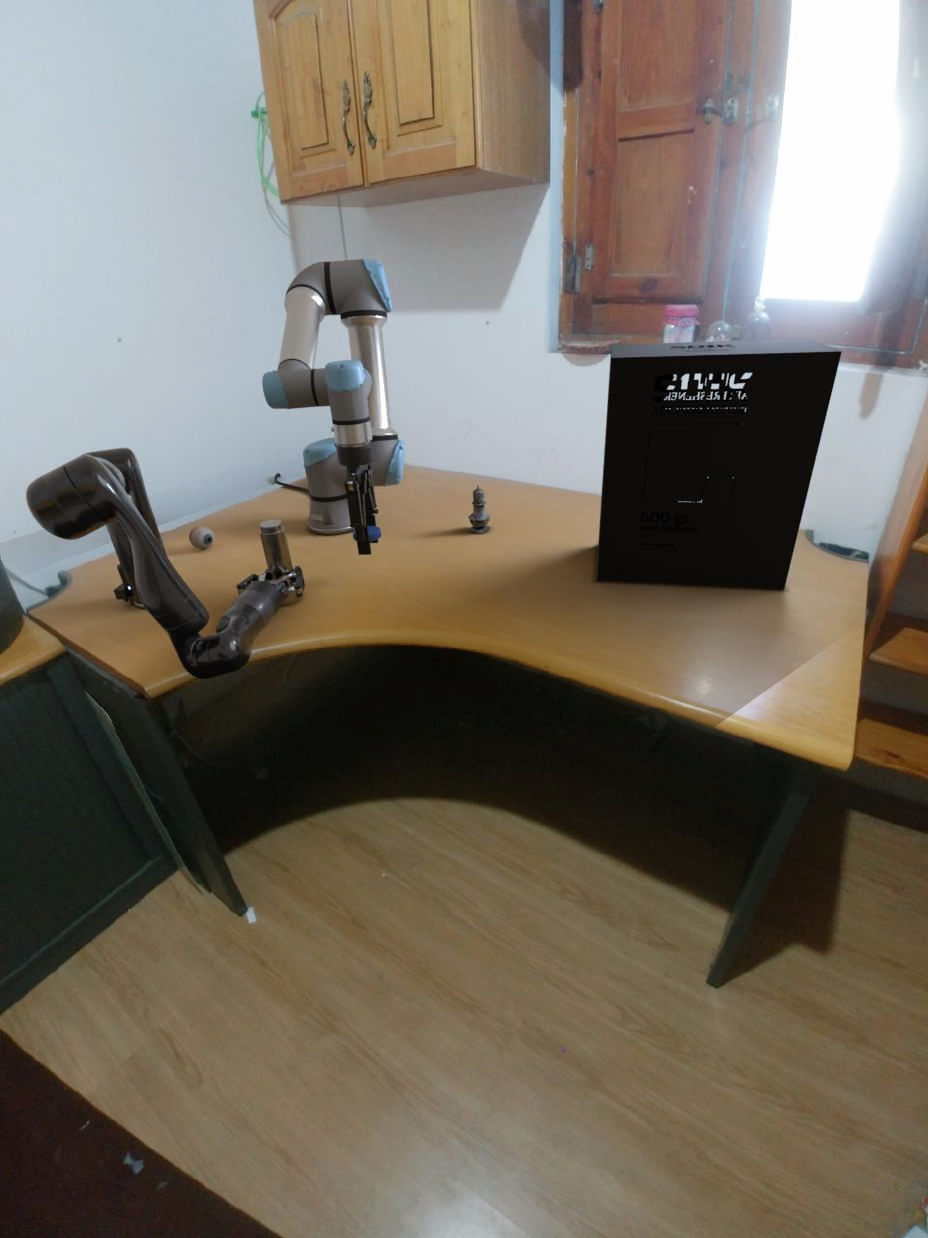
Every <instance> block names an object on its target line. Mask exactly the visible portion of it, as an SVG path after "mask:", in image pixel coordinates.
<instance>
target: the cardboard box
mask: <svg viewBox="0 0 928 1238" xmlns="http://www.w3.org/2000/svg"><path fill="white" fill-rule="evenodd" d="M841 356H842V350H840V349H838V348H834V347H833V346H829V345H827V344H823V343H821V342H819V341H816V340H813V339H811V338H808V337H807V338H806V337H805V338H780V339H779V338H777V339H776V338H775V339H774V338H773V339H749V340H748V339H746V340H745V339H744V340H718V341H688V342H687V341H685V342H683V341H682V342H681V341H680V342H652V343H624V344H623V343H621V344H611V345H610V358H609V372H608V373H609V374H608V386H607V388H608V392H607V405H606V419H605V420H606V422H605V434H604V451H603V452H604V453H603V466H602V481H601V496H600V512H599V513H600V514H599V528H598V541H597V542H598V543H597V566H596V567H597V568H596V582H609V583H630V584H648V585H649V584H653V585H672V586H673V585H674V586H675V585H676V586H693V587H695V586H697V587H699V586H700V587H716V588H717V587H718V588H719V587H720V588H739V589H740V588H742V589H762V590H764V589H765V590H781V591H782V590H785V588H786V584H787V580H788V576H789V572H790V567H791V563H792V559H793V555H794V551H795V546H796V542H797V538H798V535H799V531H800V528H801V527H800V526H801V522H802V518H803V514H804V509H805V506H806V501H807V497H808V493H809V489H810V485H811V480H812V476H813V472H814V468H815V465H816V460H817V456H818V451H819V447H820V443H821V440H822V435H823V432H824V427H825V423H826V419H827V415H828V410H829V405H830V403H831V398H832V394H833V390H834V386H835V381H836V378H837V374H838V369H839V365H840V360H841ZM745 374H751V375H750V376H749V377H748V378H743V377H744V376H745ZM675 375H676V378H675ZM685 375H688V380H687V386H686V388H682V385H683V377H684V376H685ZM696 375H700V380H699V379H695V377H696ZM710 375H712V377H711V379H710ZM723 375H724V376H723ZM733 376H734V378H733V385H738V384H743V386H742V387H741V388H739V387H738V388H733V387H731V385H730V383H731V379H732V377H733ZM699 385H702V388H699ZM713 385H718V388H712V387H713ZM670 386H671V387H673V388H671V389H668V388H669V387H670Z"/></svg>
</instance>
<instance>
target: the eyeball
mask: <svg viewBox="0 0 928 1238" xmlns="http://www.w3.org/2000/svg"><path fill="white" fill-rule="evenodd" d="M188 539H189V542H190V544H191V545H192V546H193V547H194V548H196V549H198V550H206V549H208V548H210V547H212V545H213V544H214V541H215V535H214V533H213V531H212V529H210V528H209V527H207V526H205V525H198V526H195V527H194V528H192V529H191V530H190V532H189V535H188Z"/></svg>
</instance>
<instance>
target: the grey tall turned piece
mask: <svg viewBox="0 0 928 1238" xmlns="http://www.w3.org/2000/svg"><path fill="white" fill-rule="evenodd" d="M486 503H487V502H486V501H485V491H484V490H483V489H482V488H480V486H479V485H477V486H476V488H475V489H473V491H472V502H471V504H472V509H473V510H472V511H473V512H472V513H471V514H469V515H468V517H467V518H468V519H469V523H470V525H472V526H471V527H469V531H470V532H472V533H475V534H484V533H487V532H489V531H490V529H491V528H490V527H489V526H488V524H489V522H490V519H491V515H490V514H489V513H487V512H486Z"/></svg>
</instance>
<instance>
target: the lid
mask: <svg viewBox="0 0 928 1238" xmlns="http://www.w3.org/2000/svg"><path fill="white" fill-rule="evenodd" d="M368 531H369V538H370V542H371V541H375V540H377V539H378V540H379V539H380V538H381V537H382V530H381V528H380V527H379V526H377V525H376V526H368ZM352 539H353V541H355V542H357V540H356V533H355V530H353V531H352Z"/></svg>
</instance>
